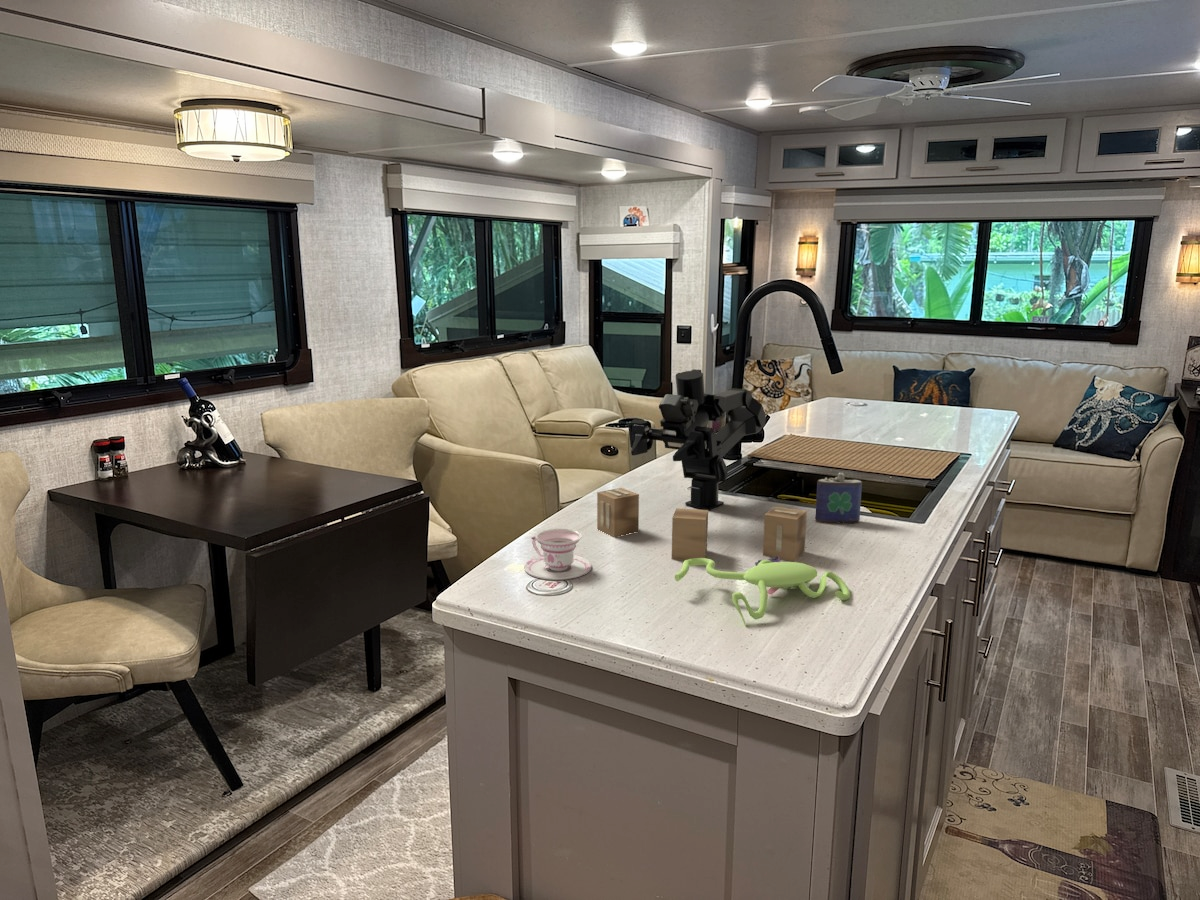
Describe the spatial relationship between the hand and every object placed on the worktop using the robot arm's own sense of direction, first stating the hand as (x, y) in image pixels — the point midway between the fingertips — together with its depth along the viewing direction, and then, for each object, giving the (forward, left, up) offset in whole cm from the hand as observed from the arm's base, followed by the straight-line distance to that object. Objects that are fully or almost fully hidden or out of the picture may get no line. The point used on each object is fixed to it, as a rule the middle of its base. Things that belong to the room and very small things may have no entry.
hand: (652, 456), depth 159 cm
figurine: (+12, +32, -17) cm, 38 cm away
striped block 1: (+2, -7, -16) cm, 18 cm away
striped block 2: (-8, +25, -16) cm, 31 cm away
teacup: (+25, -2, -17) cm, 30 cm away
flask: (-33, +24, -17) cm, 44 cm away
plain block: (+4, +12, -16) cm, 21 cm away
